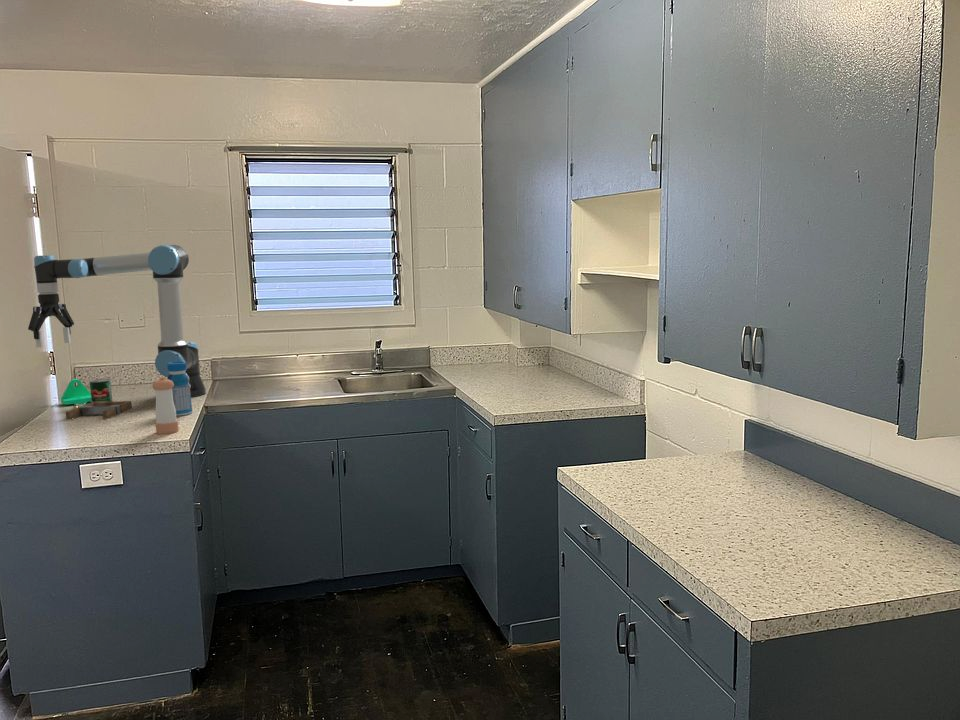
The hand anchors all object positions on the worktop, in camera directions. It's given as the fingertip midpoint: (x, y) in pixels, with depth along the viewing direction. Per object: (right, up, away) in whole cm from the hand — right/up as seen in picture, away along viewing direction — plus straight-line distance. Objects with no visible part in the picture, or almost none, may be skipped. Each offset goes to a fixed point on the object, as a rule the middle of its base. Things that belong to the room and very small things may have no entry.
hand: (53, 345), depth 328 cm
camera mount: (+6, -25, +8) cm, 27 cm away
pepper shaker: (+67, -31, -51) cm, 89 cm away
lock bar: (+27, -27, -17) cm, 42 cm away
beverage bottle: (+60, -27, -21) cm, 70 cm away
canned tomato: (+20, -25, 0) cm, 33 cm away
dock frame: (+27, -27, -17) cm, 42 cm away
